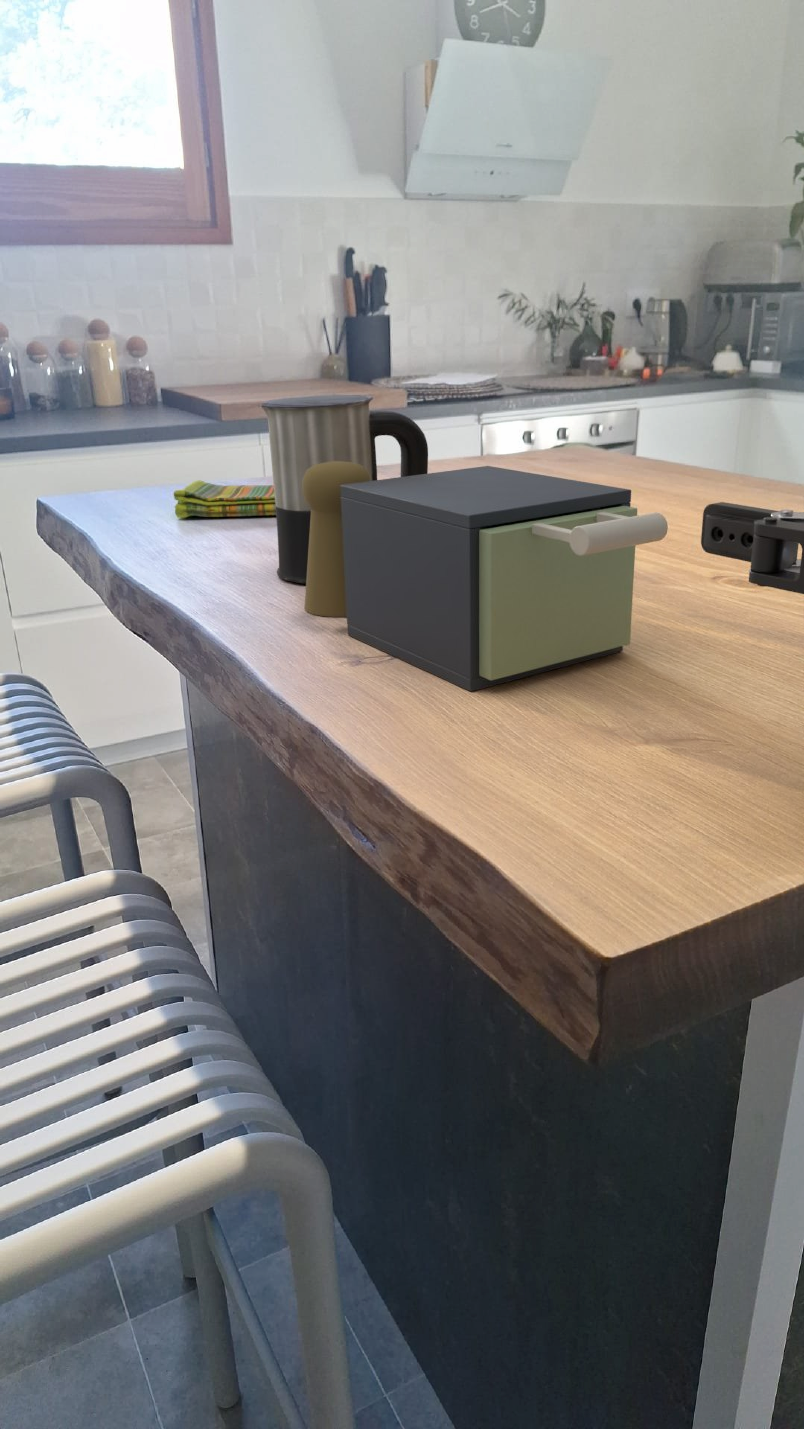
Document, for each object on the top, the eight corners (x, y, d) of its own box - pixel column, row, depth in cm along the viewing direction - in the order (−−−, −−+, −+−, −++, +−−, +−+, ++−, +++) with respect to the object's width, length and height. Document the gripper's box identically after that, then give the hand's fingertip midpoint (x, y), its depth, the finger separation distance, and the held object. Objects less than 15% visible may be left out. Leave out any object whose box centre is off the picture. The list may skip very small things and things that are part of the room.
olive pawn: (295, 616, 77) (285, 469, 73) (314, 595, 83) (305, 457, 79) (373, 617, 76) (367, 468, 72) (387, 596, 82) (382, 456, 78)
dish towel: (196, 497, 129) (193, 471, 128) (477, 488, 129) (477, 462, 128) (172, 520, 115) (169, 492, 114) (488, 510, 115) (488, 482, 114)
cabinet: (623, 651, 67) (631, 489, 63) (470, 692, 61) (469, 515, 57) (487, 605, 79) (488, 465, 75) (347, 635, 72) (339, 484, 69)
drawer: (689, 664, 62) (702, 508, 58) (546, 705, 56) (550, 535, 53) (500, 601, 76) (501, 473, 73) (371, 629, 71) (365, 491, 67)
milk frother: (306, 592, 84) (294, 405, 78) (226, 559, 96) (211, 395, 91) (446, 566, 91) (444, 393, 86) (355, 538, 103) (349, 385, 98)
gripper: (1272, 448, 37) (871, 420, 50) (1078, 492, 30) (667, 446, 43) (1218, 643, 40) (851, 569, 53) (1028, 726, 33) (656, 617, 46)
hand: (769, 514), depth 48 cm, fingers open, 8 cm apart
